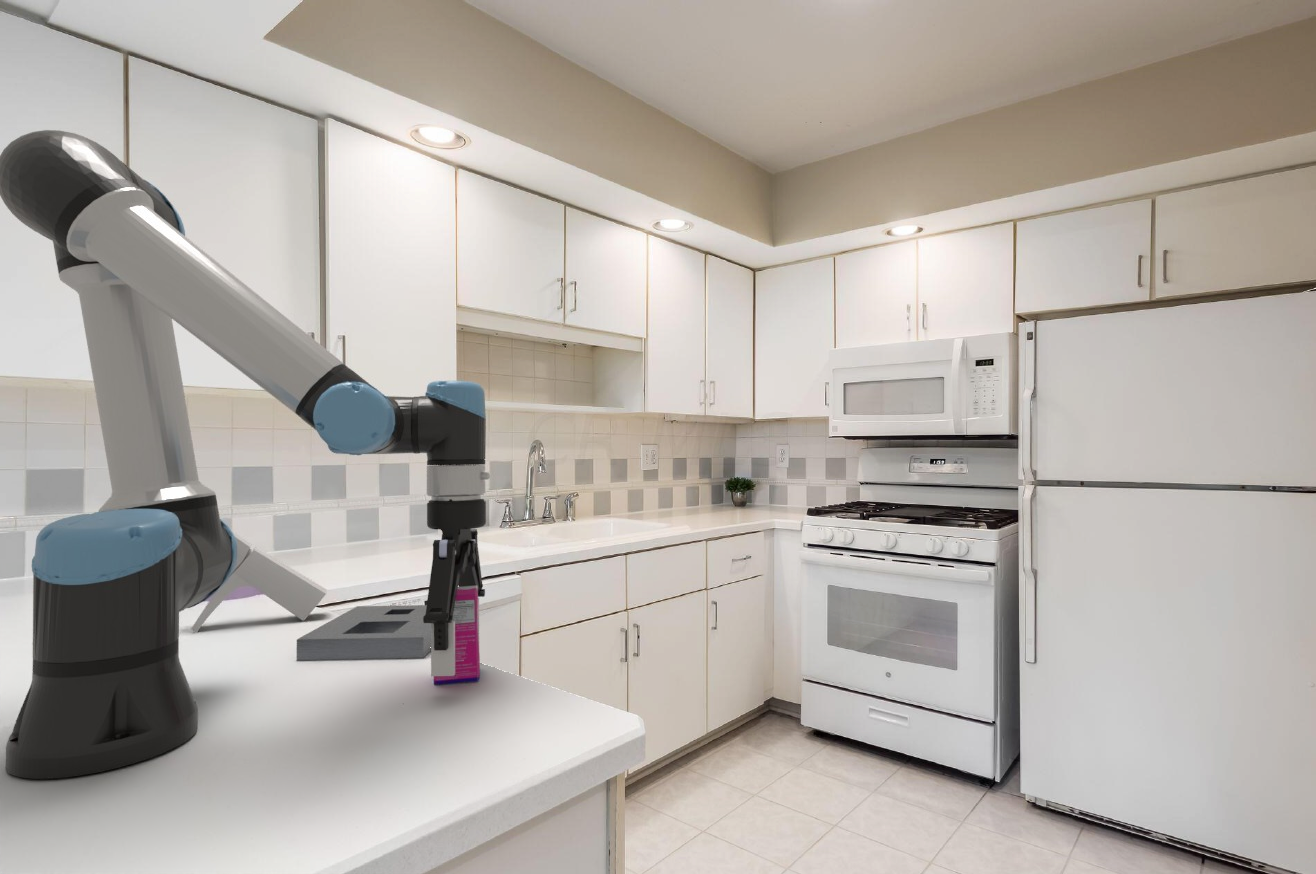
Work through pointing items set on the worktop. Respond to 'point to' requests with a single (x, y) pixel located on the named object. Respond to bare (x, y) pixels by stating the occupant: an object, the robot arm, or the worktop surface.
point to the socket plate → (369, 635)
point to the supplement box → (465, 638)
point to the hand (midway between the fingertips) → (457, 659)
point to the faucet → (267, 583)
